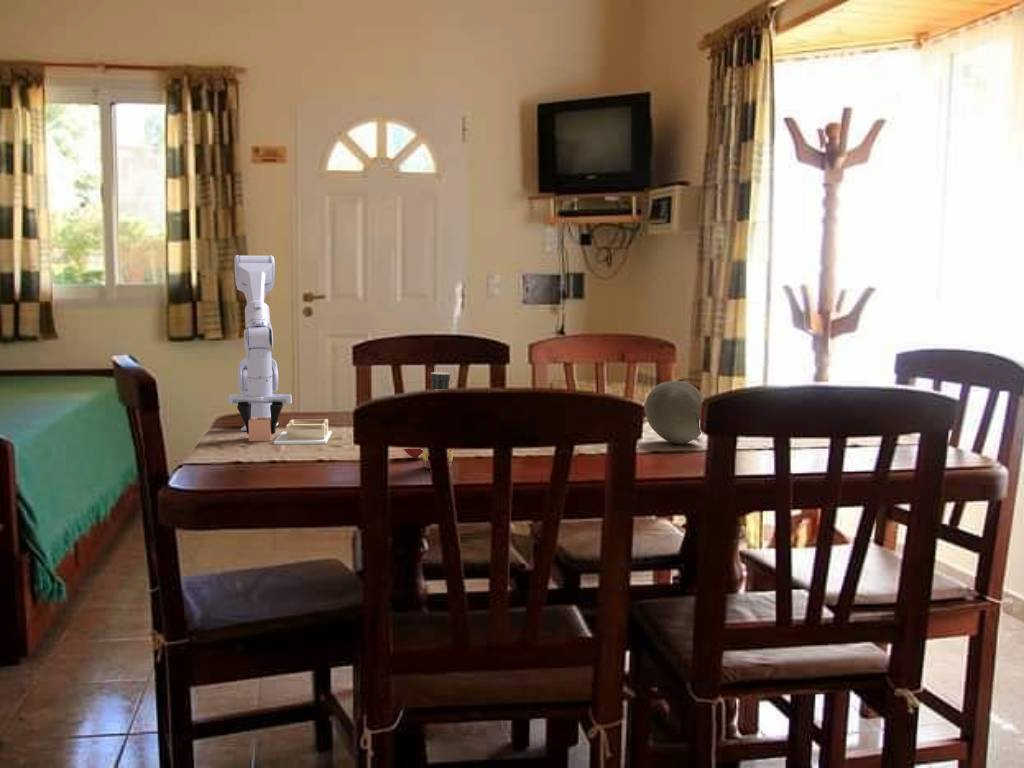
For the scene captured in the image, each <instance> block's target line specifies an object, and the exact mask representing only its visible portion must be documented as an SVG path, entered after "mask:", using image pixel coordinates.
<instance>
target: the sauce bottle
mask: <svg viewBox="0 0 1024 768" xmlns="http://www.w3.org/2000/svg"><path fill="white" fill-rule="evenodd" d="M429 378H430V383H431V385H430V391H431V390H433V389H449V390H450V380H451V373H450V372H444V371H443V372H442V371H434V372H430V377H429ZM453 451H454V449H453V450H449V452H448V453H449V461H450V468H451V467H452V465H453V464H452V463H453V459H454V457H453V456H454V452H453ZM422 460H423V461H422V466H423V468H424V467H426V468H425V469H427V468H428V467H429V464H428V453H427V450H425V449H423V453H422Z"/></svg>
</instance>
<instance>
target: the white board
mask: <svg viewBox="0 0 1024 768" xmlns="http://www.w3.org/2000/svg"><path fill="white" fill-rule="evenodd" d="M332 434H333V431H332V430H328V434H327V436H326V437H325V439H307V440H287V430H284V431H281V433H280V434H279V435H278V436H277V438H276V439H275V440H274V441H273V445H327V442H328V441H329V439H330V437H331V436H332Z"/></svg>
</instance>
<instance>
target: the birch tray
mask: <svg viewBox="0 0 1024 768" xmlns="http://www.w3.org/2000/svg"><path fill="white" fill-rule="evenodd" d="M285 427H286V430H285V431H287V440H307V439H325V437H326V436H327V434H328V431H329V419H328V418H322V419H321V418H319V419H317V418H315V419H314V418H312V419H311V418H309V419H308V418H306V419H305V418H304V419H300V418H298V419H294V418H293V419H291V420H289V422H288V423H287V424H286V426H285Z"/></svg>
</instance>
